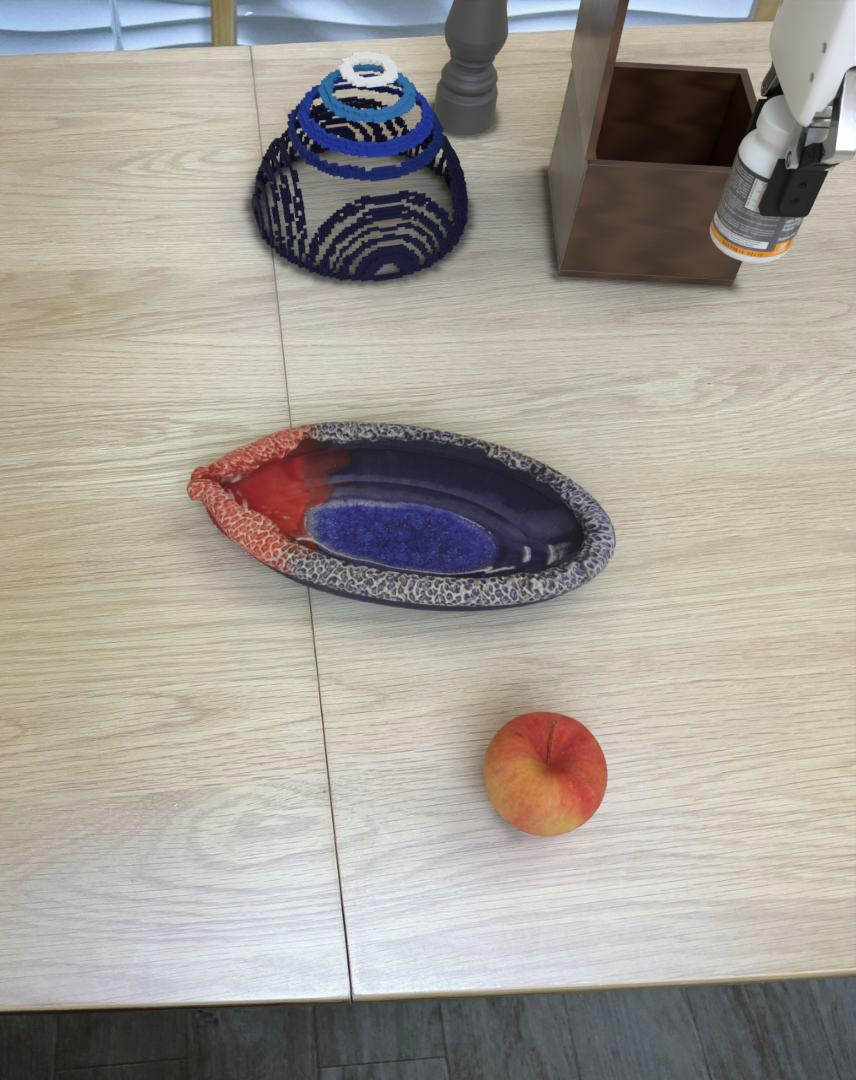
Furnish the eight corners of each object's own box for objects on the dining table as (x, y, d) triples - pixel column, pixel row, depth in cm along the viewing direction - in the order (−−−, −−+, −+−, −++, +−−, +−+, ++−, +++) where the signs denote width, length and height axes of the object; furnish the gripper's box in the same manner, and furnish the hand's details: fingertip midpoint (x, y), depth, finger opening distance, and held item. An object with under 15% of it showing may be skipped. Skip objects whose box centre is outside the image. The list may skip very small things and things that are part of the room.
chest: (706, 180, 108) (747, 68, 98) (731, 287, 99) (780, 175, 89) (547, 171, 108) (573, 58, 98) (558, 276, 99) (588, 164, 89)
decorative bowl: (495, 264, 100) (523, 122, 88) (280, 295, 96) (280, 153, 85) (430, 136, 111) (447, -5, 99) (236, 160, 108) (230, 18, 96)
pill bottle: (786, 274, 75) (845, 149, 67) (702, 256, 76) (750, 131, 68) (791, 223, 78) (849, 98, 70) (711, 207, 79) (758, 81, 71)
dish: (598, 664, 75) (616, 627, 71) (167, 584, 78) (161, 544, 74) (608, 492, 84) (624, 450, 80) (221, 426, 87) (218, 382, 83)
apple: (485, 861, 67) (507, 811, 61) (464, 751, 71) (483, 694, 65) (602, 851, 68) (636, 800, 61) (574, 742, 72) (603, 684, 65)
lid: (617, -147, 85) (608, -147, 85) (640, -47, 75) (629, -48, 76) (578, 54, 98) (570, 54, 98) (593, 160, 89) (584, 159, 89)
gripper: (1013, -16, 54) (859, 271, 68) (916, -169, 64) (800, 110, 78) (859, -21, 54) (739, 267, 69) (787, -173, 64) (695, 106, 79)
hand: (772, 181), depth 73 cm, fingers closed on pill bottle, 5 cm apart
